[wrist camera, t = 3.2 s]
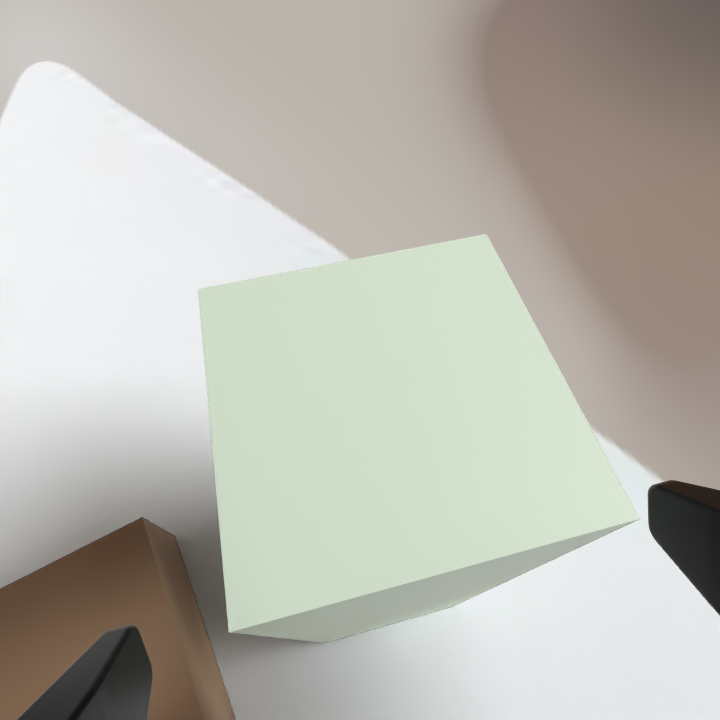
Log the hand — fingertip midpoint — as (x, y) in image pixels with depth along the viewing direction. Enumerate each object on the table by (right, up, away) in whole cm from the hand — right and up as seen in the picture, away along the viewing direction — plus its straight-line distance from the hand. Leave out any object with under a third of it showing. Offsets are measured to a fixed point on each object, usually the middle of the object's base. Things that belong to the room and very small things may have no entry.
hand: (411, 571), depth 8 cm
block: (0, -3, +9) cm, 10 cm away
